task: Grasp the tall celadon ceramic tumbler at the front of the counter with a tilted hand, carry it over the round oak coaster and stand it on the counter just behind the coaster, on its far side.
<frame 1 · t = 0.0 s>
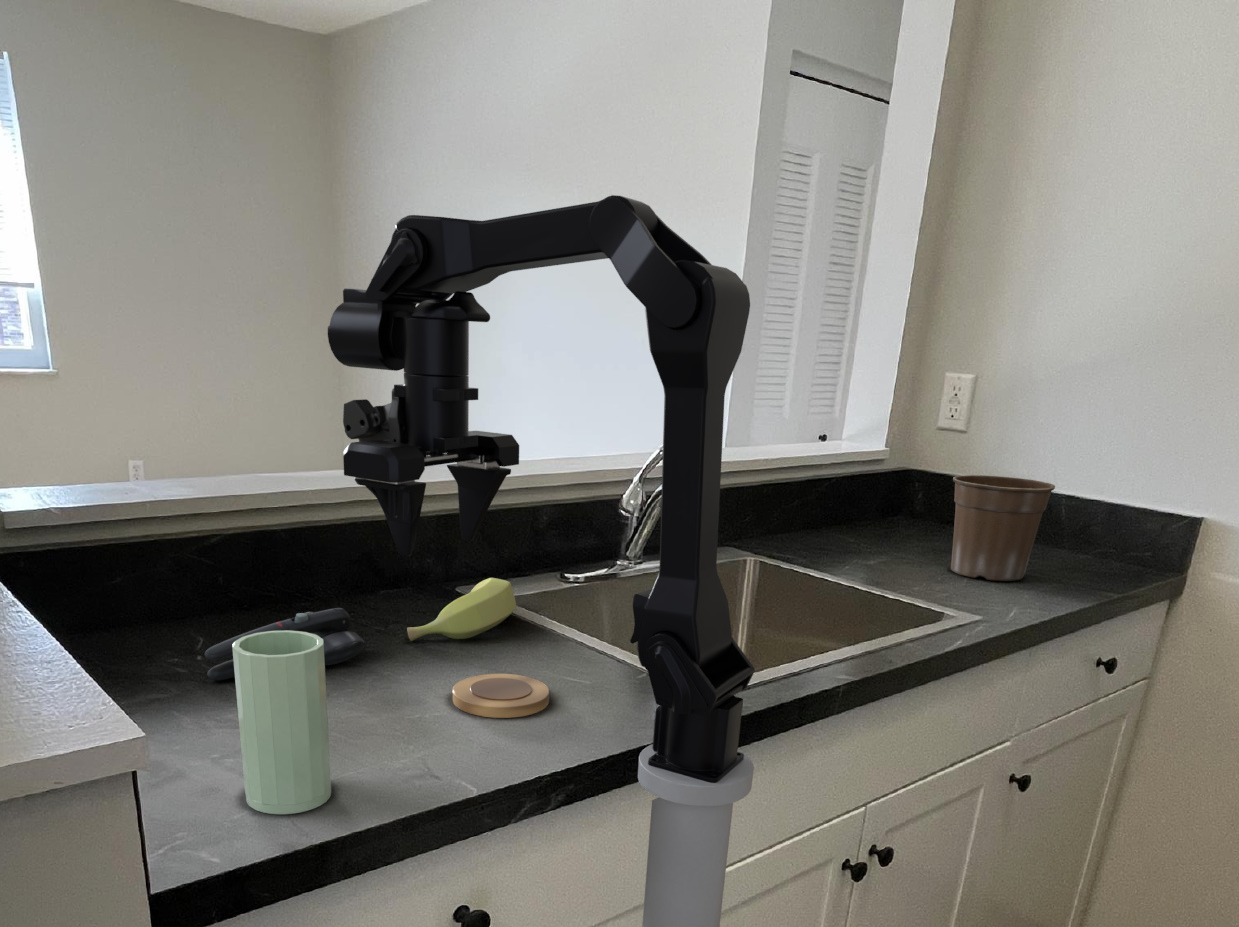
hand: (437, 547, 92), 17 cm above the worktop, tool pointing down, fingers open, 9 cm apart
can opener: (285, 667, 108), on the worktop
tumbler: (289, 795, 79), on the worktop
plant pot: (985, 575, 171), on the worktop
banana: (460, 625, 126), on the worktop
coaster: (501, 700, 102), on the worktop
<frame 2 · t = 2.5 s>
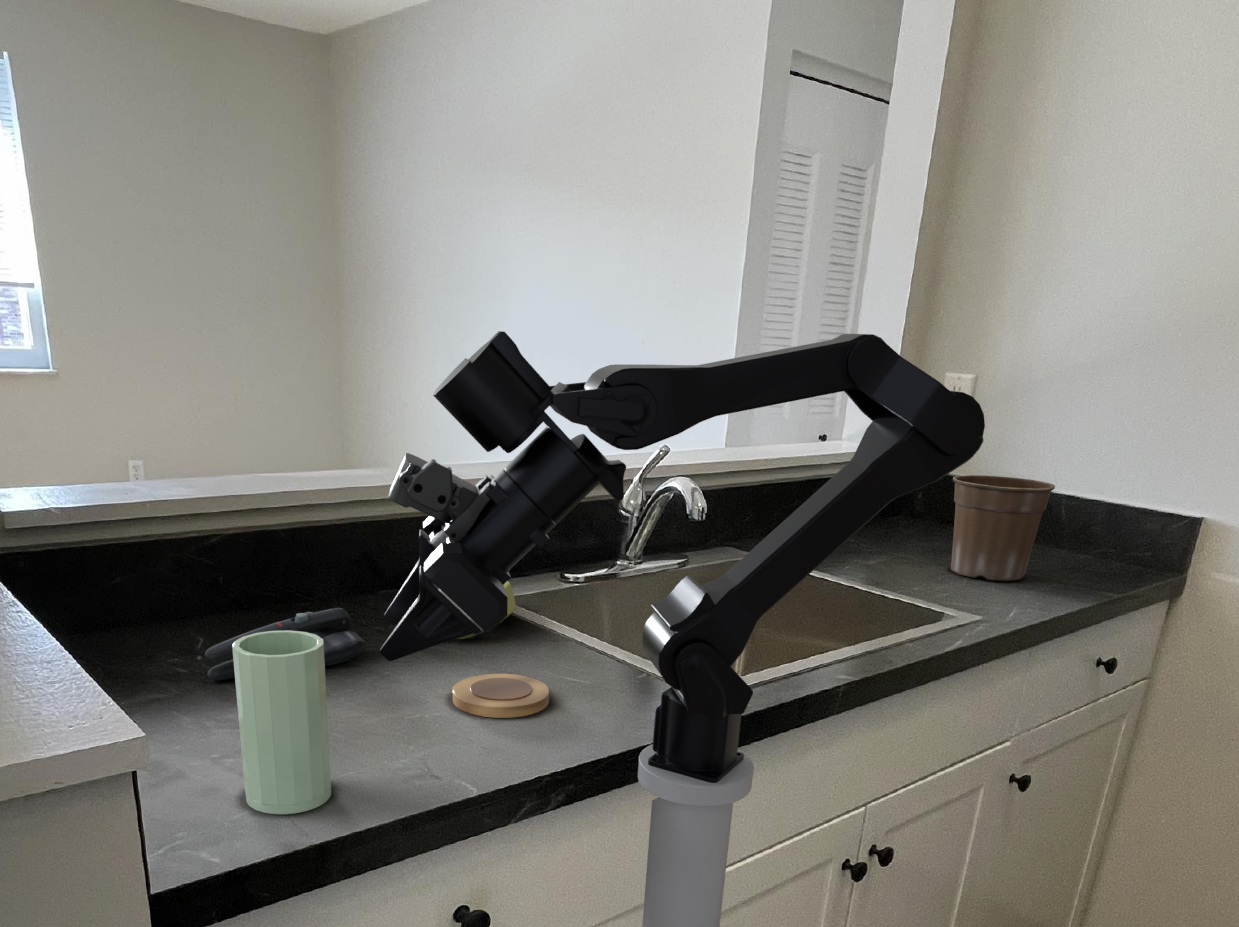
hand: (386, 637, 76), 13 cm above the worktop, tool tilted 45°, fingers open, 9 cm apart
nothing on the worktop moved.
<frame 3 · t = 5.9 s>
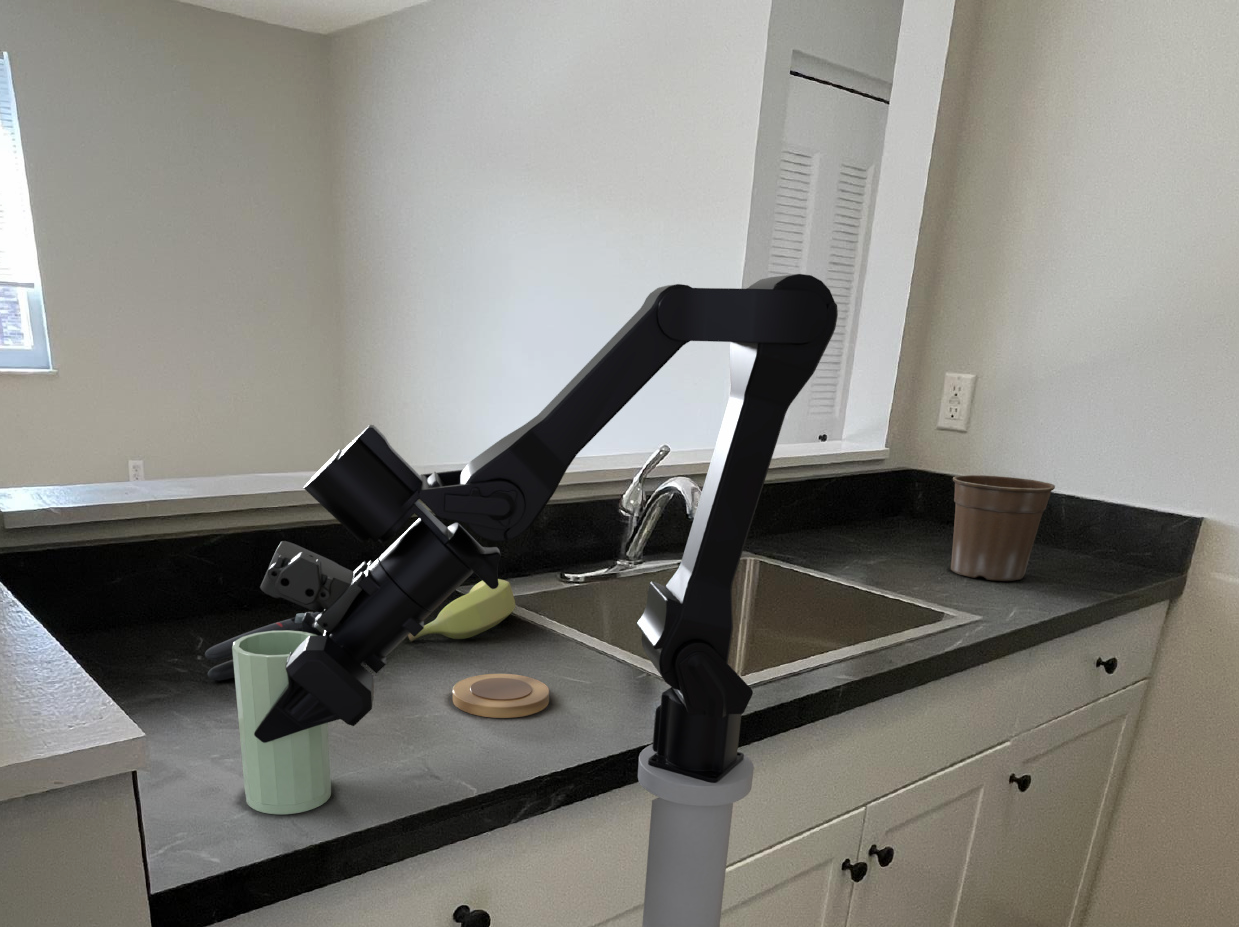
hand: (265, 720, 77), 7 cm above the worktop, tool tilted 45°, fingers closed on tumbler, 7 cm apart
tumbler: (289, 795, 79), on the worktop, touching gripper
everything else where it was.
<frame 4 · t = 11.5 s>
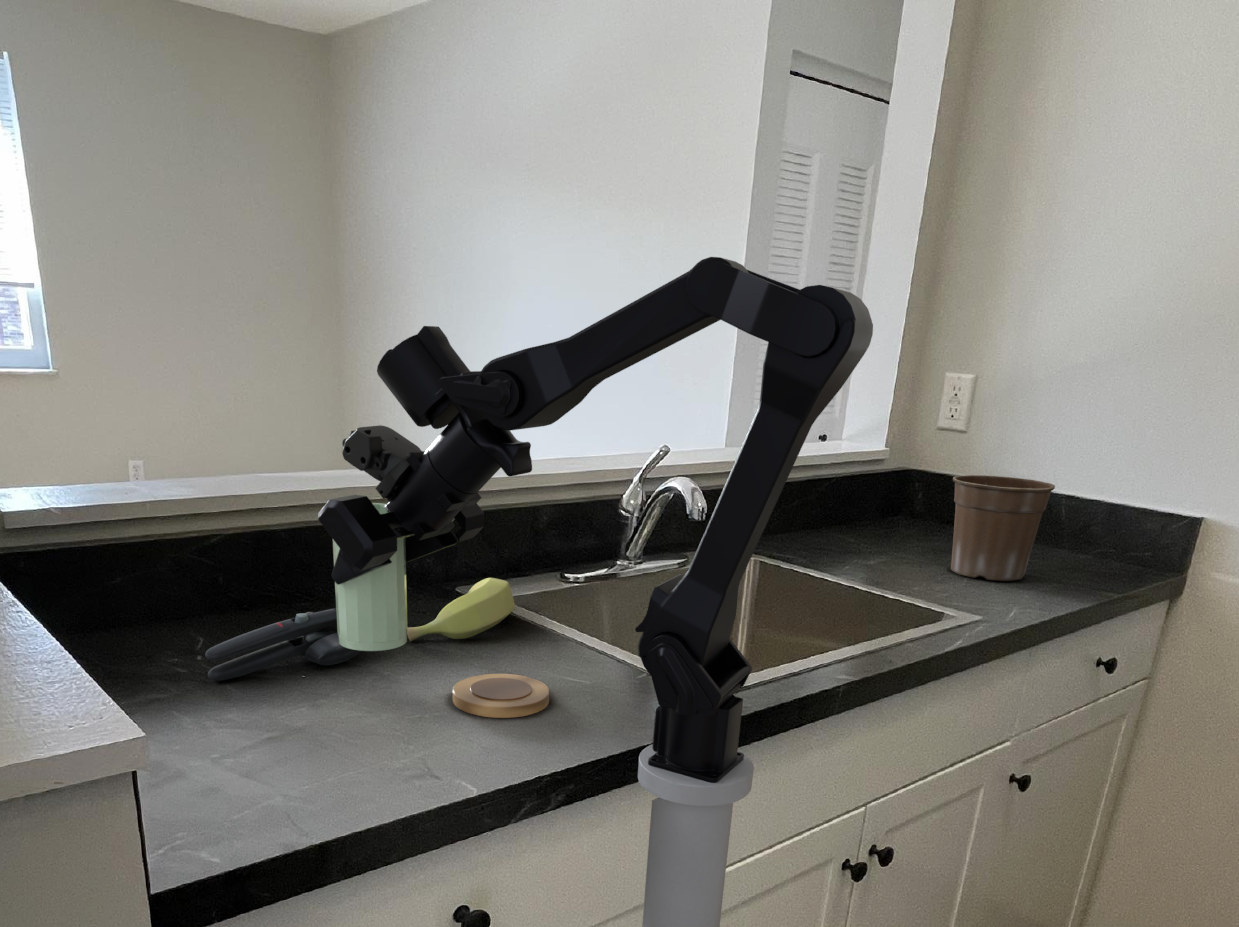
hand: (359, 573, 94), 13 cm above the worktop, tool tilted 45°, fingers closed on tumbler, 7 cm apart
tumbler: (373, 640, 96), point 7 cm above the worktop, touching gripper
everything else where it was.
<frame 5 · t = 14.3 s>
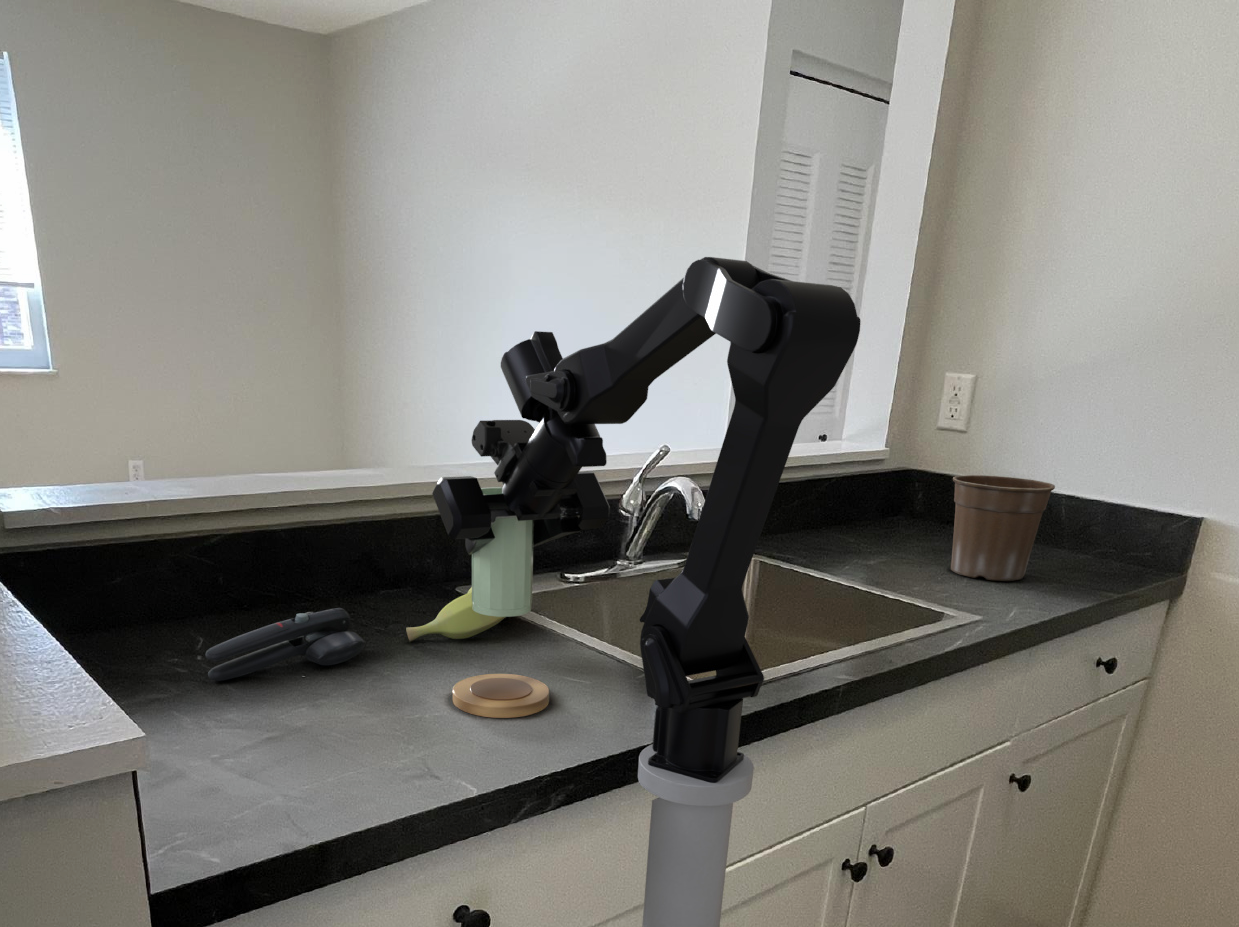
hand: (496, 548, 108), 13 cm above the worktop, tool tilted 45°, fingers closed on tumbler, 7 cm apart
tumbler: (501, 608, 109), point 7 cm above the worktop, touching gripper
everything else where it was.
when the fingers open (7 cm above the worktop, at t = 17.0 s): tumbler stays where it is, on the worktop.
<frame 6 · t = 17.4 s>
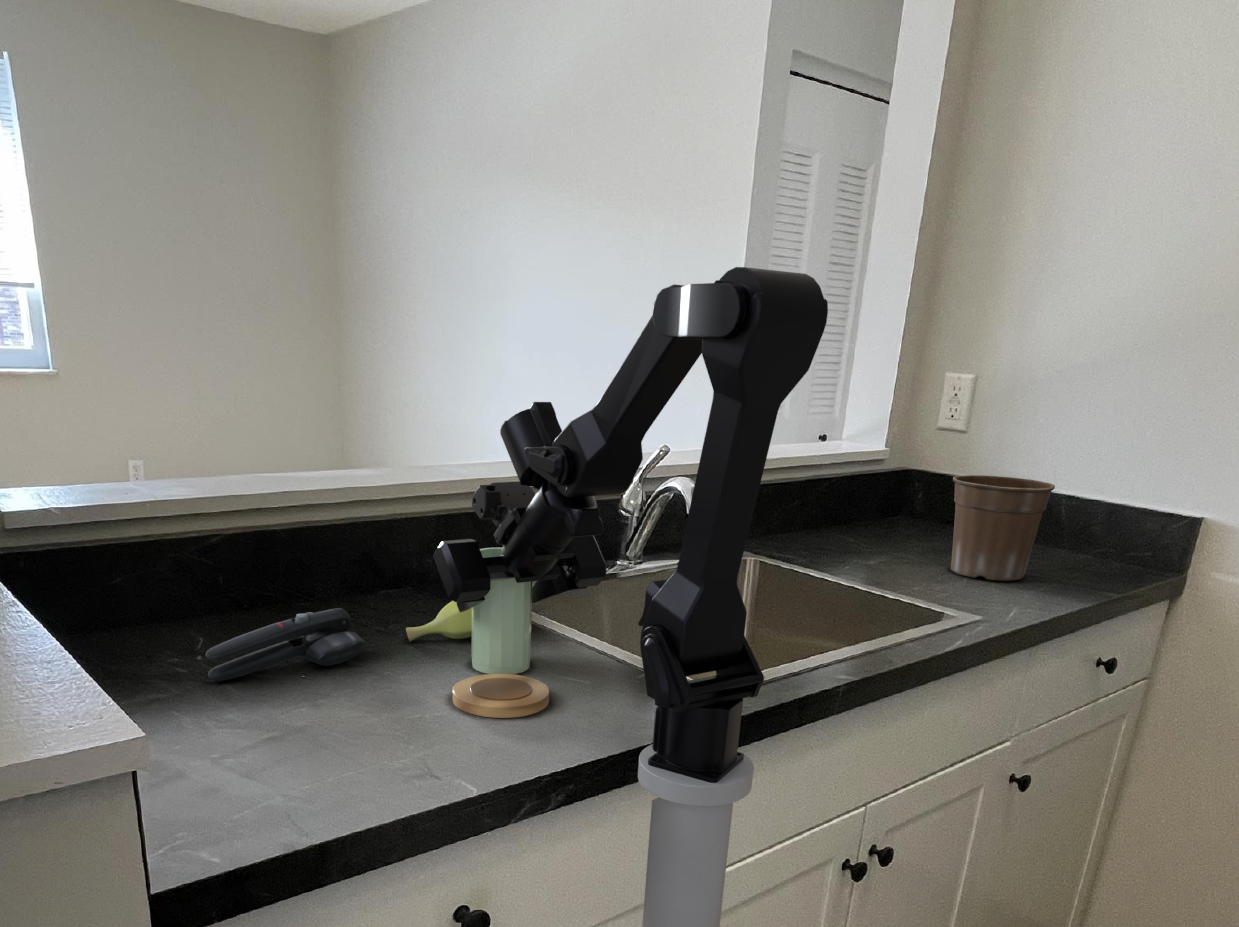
hand: (496, 603, 110), 7 cm above the worktop, tool tilted 45°, fingers open, 9 cm apart
tumbler: (500, 665, 112), on the worktop
everything else where it was.
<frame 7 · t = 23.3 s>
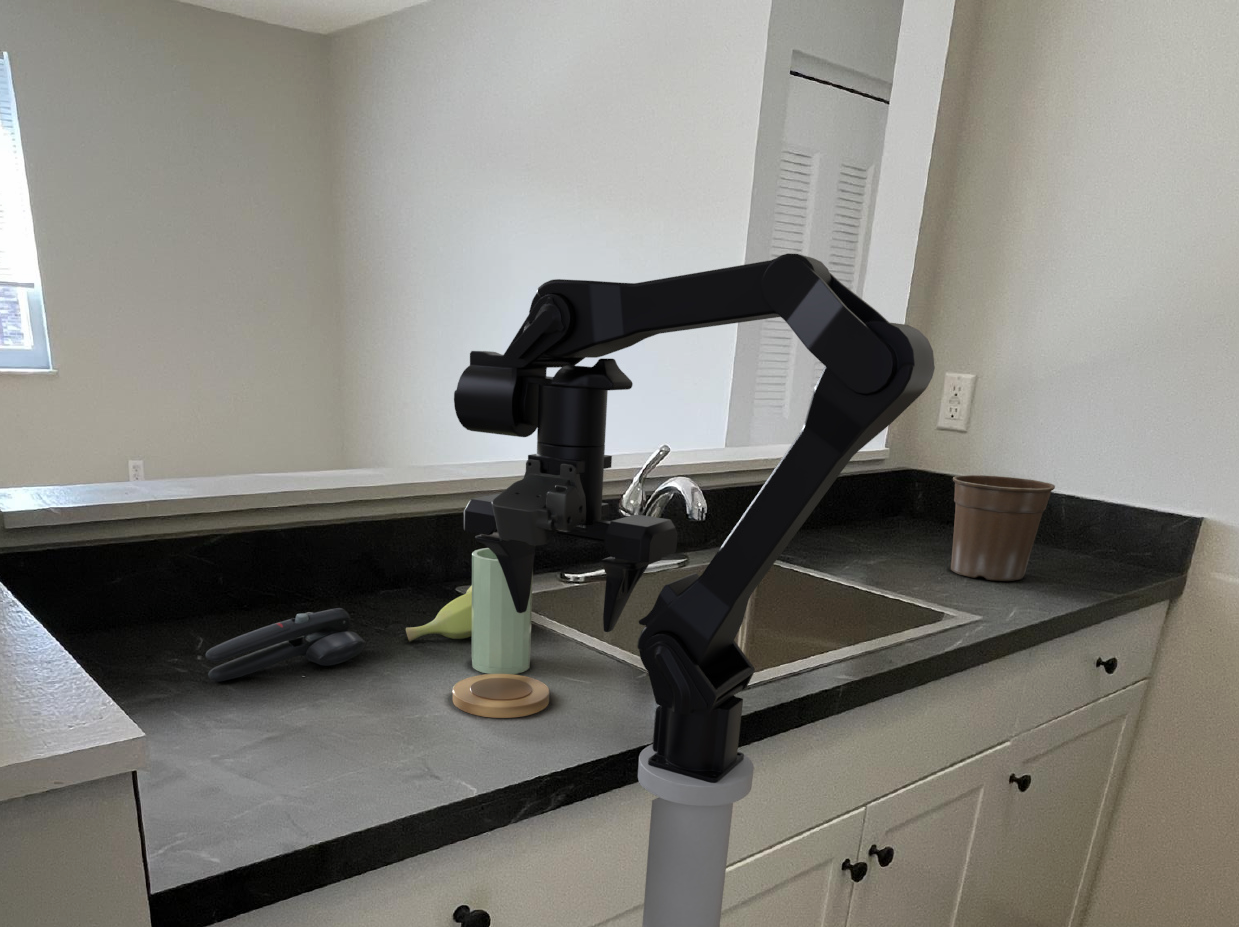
hand: (563, 621, 87), 12 cm above the worktop, tool pointing down, fingers open, 9 cm apart
nothing on the worktop moved.
at the end: tumbler inside the target area on the worktop beside the coaster (0.0 cm from its centre), on the worktop; tumbler tilted 0°; the gripper is holding nothing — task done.
